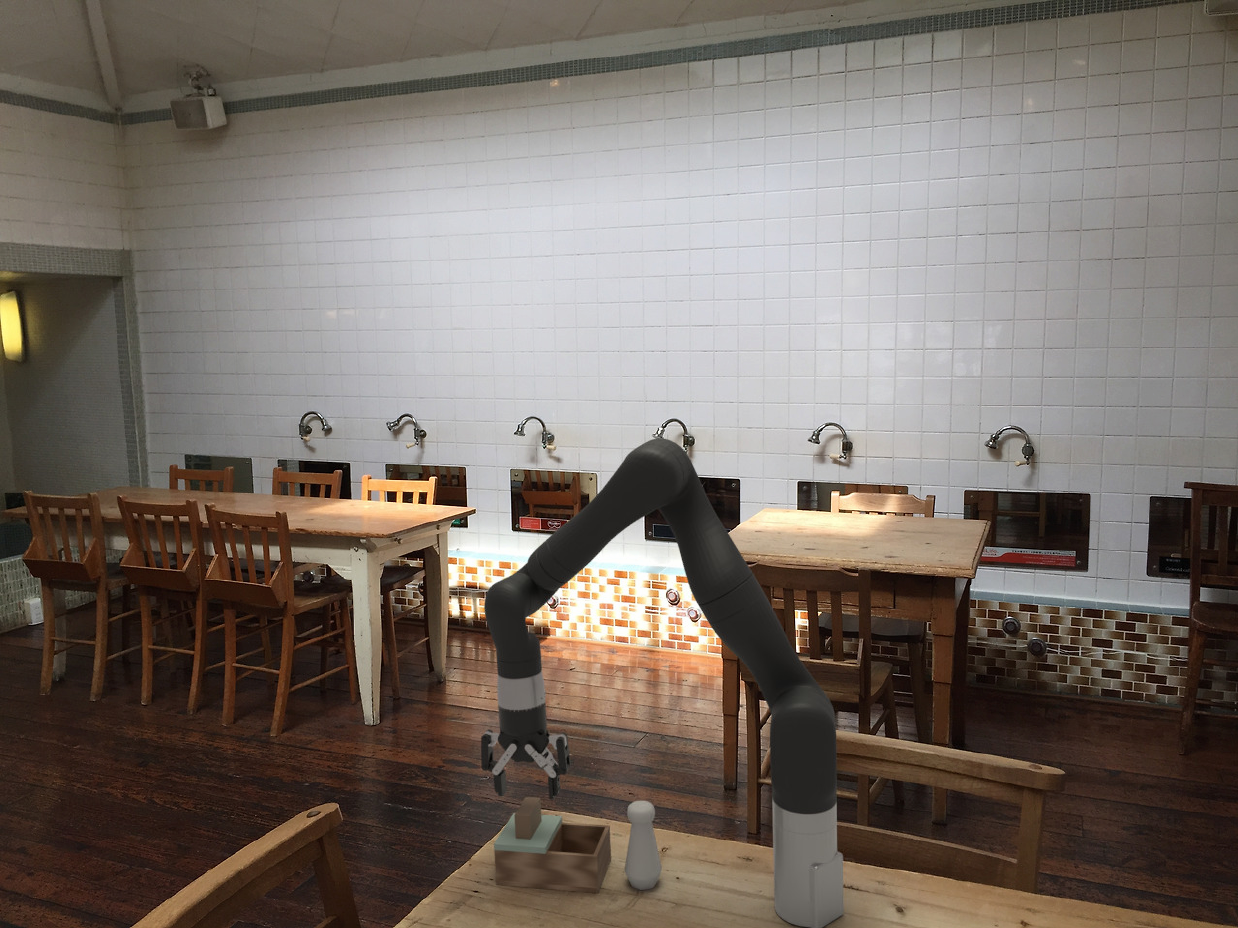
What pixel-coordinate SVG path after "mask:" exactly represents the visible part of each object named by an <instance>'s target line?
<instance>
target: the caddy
mask: <svg viewBox="0 0 1238 928" xmlns="http://www.w3.org/2000/svg"><path fill="white" fill-rule="evenodd" d="M610 828H611V825H606V824H604V825H603V824H591V823H579V822H578V823H576V822H563V821H562V823H561V825H560V827H559V829H558V831H557V833H556V835H555V837H554V839H553V840H552V842H551V844H550V846H549V848H548V850H547V852H546V854H542V853H529V852H516V851H503V850H494V849H493V852H494V866H495V867H494V870H495V885H497V886H506V887H507V886H508V887H518V888H520V887H521V888H531V889H542V890H544V889H545V890H555V891H556V890H557V891H568V892H579V893H589V894H591V893H592V894H599V892H600V889H601V886H602V884H603V882H604V879H605V876H606V874H607V872H608V869H609V866H610V863H611V861H612V847H611V846H612V844H611V829H610Z"/></svg>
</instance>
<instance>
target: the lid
mask: <svg viewBox="0 0 1238 928" xmlns="http://www.w3.org/2000/svg"><path fill="white" fill-rule="evenodd" d="M541 803H542V801H541V797H534V796H533V797H532V796H531V797H530V796H525V797H524V799H523V801H522V802H521V804H520V806H519V807H518V808H517V810H516V812H513V813H512V815H511V816H510V818H509V820H508V821H507V823H506V824H505V826H504V827H503V829H502V830H501V832H500V834H499V835H498V837H497V838H496V839H495V842H494V843H493V851H494V850H503V851H516V852H529V853H542V854H546V852H547V850H548V848H549V846H550V844H551V842H552V840H553V839H554V837H555V835H556V833H557V831H558V829H559V827H560V825H561V823H562V822H563V815H553V814H542V806H541V805H542V804H541Z"/></svg>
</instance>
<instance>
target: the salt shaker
mask: <svg viewBox="0 0 1238 928" xmlns="http://www.w3.org/2000/svg"><path fill="white" fill-rule="evenodd" d="M626 814H627V819H628V820H629V822H630V823H631V826H630V834H629V839H628V840H629V841H628V845H627V852H626V857H625V858H626V859H625V864H624V873H625V875H626V878H627V879H628V881H629V884H630V885H631V887H633V888H635V889H637V890H640V891H646V890H650V889H654V887H655V886H656V884H657V883H658V880H659V878H660V876H661V874H662V866H663V865H662V863H661V857H660V853H659V849H658V844H657V843H658V842H657V840H656V834H655V830H654V825H653V821H654V819H655V817H656V810H655V806H654V805H653V803H651V802H650V801H648V800H635V801H633V802H632V803H630V804H629V805H628V807H627V811H626Z"/></svg>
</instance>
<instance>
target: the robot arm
mask: <svg viewBox="0 0 1238 928" xmlns="http://www.w3.org/2000/svg"><path fill="white" fill-rule="evenodd" d="M701 482H702V481H701V480H700V478H699V475H698V472H697V471H696V469H695V467H694V464H693V462H692V460H691V458H690V457H689V455H688V453H687V452H686V450H685V449H683V447H682V446H681V445H679V444H678V443H677V442H674V441H673V440H671V439H669V438H668V439H667V438H663V437H661V438H658V437H657V438H653V439H649V440H648V441H646V442H644V443H642V444H641V445H639V446H637V447H636V448H634V449H633V450H631V451H630V452H629V453H628V454H627V455H626V456H625V458H624V460H623V461H622V463H621V464H620V465H619V467H617V469H616V471H615V472H614V474H613V475H612V476H611V477H610V478H609V480H608V481H607V482H606V484H605V485H604V486H603V487H602V489H601V490H600V491H599V492H598V493H597V494H596V496H594V497H593V499H592V500H591V501H590V502H588V503H587V505H585V507H584V508H583V509H581V510H580V511H579V512H577V513H576V514H575V515H574V516H573V517H571V518H570V519H569V520H568V521H566V522H565V523H564V524H563V525H561V526H560V527H559V528H558V529H556V531H554V532H553V533H552V534H550V536H549V537H548V538H547V539H546V540H545V541H543V542H542V543H541V544H540V545H539V546H538V547H536V549H534V551H533V552H532V553H531V554H530V556H529V557H528V559H527V562H526V563H525V564H524V565H523V566H522V567H521V568H519V569H518V570H517V571H516V572H514V573H513V574H511V575H510V576H508V577H505V578H503V579H501V580H499V581H497V582H495V583H493V584H492V585H491V586H490V587H489V588H488V590H487V591H486V595H485V598H484V608H483V609H484V617H485V621H486V623H487V627H488V629H489V632H490V636H491V639H492V642H493V643H494V644H493V645H494V647H495V651H496V652H495V654H496V657H495V658H496V667H497V669H496V670H497V671H496V672H497V680H496V681H497V682H496V683H497V684H496V693H497V708H498V721H499V722H498V723H499V725H498V726H499V733H498V732H494V730H492V729H487V730H486V731H485V732H484V733H483V735H481V737H480V746H481V747H480V751H481V752H480V754H481V755H480V759H481V760H480V761H481V769H482V770H483V771H485V772H486V771H489V772H491V773H492V774H493V775H492V776H493V785H494V791H495V794H497V795H498V797H504V796H505V795H506V793H507V776H506V775H507V773H506V769H504V768H505V766H506V764H507V763H508V762H509V761H510V760H511V761H512V760H513V762H515V763H520V762H521V763H522V762H526V763H529V764H532V763H534V762H536V764H537V765H538V766H539V767H540V769H543V770H544V771H545V773H546V774H547V775H548V777H547V784H548V785H547V786H548V799H549V800H555V798H556V797H557V796H558V795H559V793H560V791H561V779H560V775H563V776H564V775H566V774H567V773H568V770H569V769H570V768H571V764H572V763H571V756H570V747H569V739H568V733H566V732H561V733H560V734H553V735H550V733H549V731H548V723H547V721H548V720H547V708H546V707H547V706H546V696H547V695H546V690H545V681H544V680H545V679H544V675H543V669H542V668H543V666H542V654H541V643H540V640H539V637H538V636H537V635H536V634H534V633H533V632H529V631H528V628H527V622H526V619H527V618H528V617H530V616H532V615H533V614H535V613H536V612H538V611H539V610H541V609H542V607H543V606H545V604H547V603H548V602H549V601H550V600H551V599H552V598H553V596H555V594H556V593H557V592H558V591H559V589H561V588H562V587H563V586H564V585H566V584H568V582H569V581H571V580H572V579H573V578H574V577H576V576H577V575H578V573H580V572H581V571H582V570H584V568H585V567H586V566H588V565H589V564H590V563H591V562H592V561H593V560H594V559H595V558H596V557H597V556H598V555H599V554H600V552H602V551H603V549H604V548H605V547H606V546H607V545H608V544H609V543H610V542H611V541H612V540H613V539H615V538H616V537H617V536H618V535H619V534H620V533H622V532H623V531H624V530H626V529H627V528H628V527H629V526H631V525H633V524H634V523H636V522H637V521H639V520H640V519H642V518H644V517H646V516H647V515H649V514H651V513H652V512H654V511H656V510H659V512H660V514H661V515H662V518H664V520H665V522H666V524H667V525H668V527H669V528H670V530H671V533H672V534H673V536H674V539H675V541H676V545H677V547H678V550H679V554H680V557H681V561H682V565H683V570H684V574H685V576H686V580H687V583H688V586H689V589H690V591H691V593H692V596H693V598H694V600H695V601H696V603H697V605H698V607H699V608H700V610H701V612H702V614H703V615H704V617H705V620H706V621H707V622H708V624H709V626H710V628H711V629H712V630H713V631H714V633H715V634H716V636H717V637H718V638H719V639H720V640H721V641H722V642H723V644H724V645H726V647H727V648H728V649H729V650H730V651H731V652H732V654H734V655H735V656H736V657H737V658H738V659H739V660H740V661H741V662H742V663H743V664H744V665H745V667H746V668H747V669H748V670H749V672H750V673H751V675H752V676H753V679H754V680H755V682H756V684H757V686H758V687H759V689H760V691H761V693H762V697H763V698H764V701H765V702H766V704H767V706H768V709H769V712H770V715H771V717H770V723H769V724H770V725H769V753H770V754H769V756H770V783H771V794H772V796H771V797H772V798H771V799H772V846H773V847H772V849H773V850H772V852H773V887H774V888H773V889H774V890H773V892H774V893H773V894H774V909H775V913H777V915H778V917H780V918H781V919H782V920H783V921H785V922H787V923H789V924H792V925H795V926H799V927H802V928H803V927H805V928H824V927H825V926H827V925H829V924H830V923H832V922H834V921H835V920H836V919H838V918H840V917H841V916H843V915H844V855H843V853H841V852H840V851H838V834H837V833H838V822H837V821H838V820H837V819H838V818H837V816H838V815H837V813H838V812H837V807H838V806H837V804H838V803H837V802H838V801H837V787H838V781H837V780H838V779H837V778H838V777H837V776H838V774H837V773H838V772H837V765H838V764H837V763H838V762H837V759H838V757H837V756H838V755H837V747H838V746H837V727H836V726H837V725H836V714H835V710H834V706H833V704H832V703H831V700H830V698H829V697H828V695H827V694H826V693H825V691H824V690H823V689H822V687H821V686H820V685H819V684H818V681H816V679H815V678H814V677H813V675H812V674H811V672H810V671H809V670H808V669H807V667H806V666H805V664H804V663H803V661H802V660H801V658H800V657H799V656H798V655H797V653H796V651H795V649H794V648H793V646H792V645H791V642H790V641H789V639H788V637H787V634H786V632H785V630H784V628H783V626H782V623H781V622H780V620H779V618H778V616H777V614H776V612H775V610H774V609H773V607H772V604H771V603H770V601H769V599H768V597H767V595H766V594H765V593H766V592H764V590H763V588H762V586H761V585H760V583H759V580H757V578H756V575H755V574H754V573H753V571H752V569H751V568H750V566H749V565H748V564H747V561H746V559H745V558H744V557H743V555H742V554H741V552H740V550H739V548H738V547H737V545H736V544H735V542H734V541H733V539H732V537H731V535H730V534H729V532H728V531H727V529H726V528H725V526H724V525H723V523H722V521H721V520H720V518H719V517H718V515H717V513H716V511H715V510H714V508H713V506H712V504H711V502H710V500H709V497H708V495H707V493H706V491H705V488H704V486H703V484H702V483H701ZM497 742H498V744H499V745H500V746H501V748H502V749H503V751H504V753H503V754H502V756H501V757H500V758H499V760H498V761H496V760H495V759H494V747H495V746H496V744H497ZM549 744H551V745H552V747H553V749H554V750H556V753H557V761H558V762H557V761H556V760H555V758H554V756H553V755H554V754H553V753H552V752H551V750H549V748H548V745H549Z"/></svg>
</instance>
